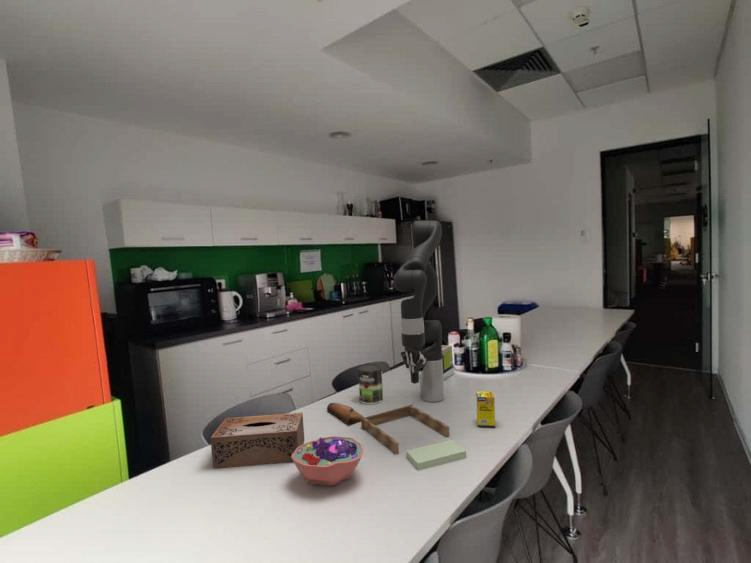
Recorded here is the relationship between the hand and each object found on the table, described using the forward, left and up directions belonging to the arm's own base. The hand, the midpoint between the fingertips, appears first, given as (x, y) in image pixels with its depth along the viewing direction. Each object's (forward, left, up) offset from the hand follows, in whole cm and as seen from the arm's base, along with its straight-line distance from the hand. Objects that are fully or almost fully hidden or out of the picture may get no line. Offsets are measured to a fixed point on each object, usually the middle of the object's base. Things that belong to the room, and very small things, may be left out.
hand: (415, 382), depth 131 cm
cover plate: (+13, -2, -20) cm, 24 cm away
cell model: (+6, -34, -19) cm, 39 cm away
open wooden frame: (-6, -1, -19) cm, 20 cm away
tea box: (-47, +45, -19) cm, 68 cm away
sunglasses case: (-32, -12, -20) cm, 39 cm away
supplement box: (+5, +26, -19) cm, 33 cm away
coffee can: (-40, +4, -19) cm, 45 cm away
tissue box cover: (-20, -47, -20) cm, 55 cm away
